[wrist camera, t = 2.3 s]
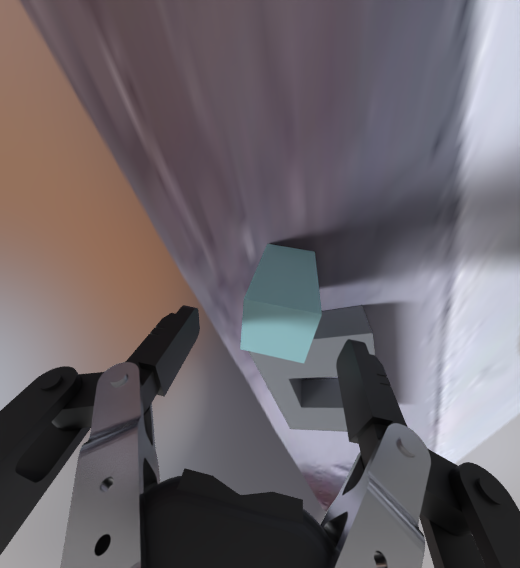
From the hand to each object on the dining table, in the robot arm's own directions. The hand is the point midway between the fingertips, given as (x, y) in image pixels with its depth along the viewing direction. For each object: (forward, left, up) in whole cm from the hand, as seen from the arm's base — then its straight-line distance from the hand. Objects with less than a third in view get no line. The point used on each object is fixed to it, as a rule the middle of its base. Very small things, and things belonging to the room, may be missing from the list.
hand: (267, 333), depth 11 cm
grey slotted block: (-6, +12, -8) cm, 16 cm away
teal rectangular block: (0, 0, -8) cm, 8 cm away
